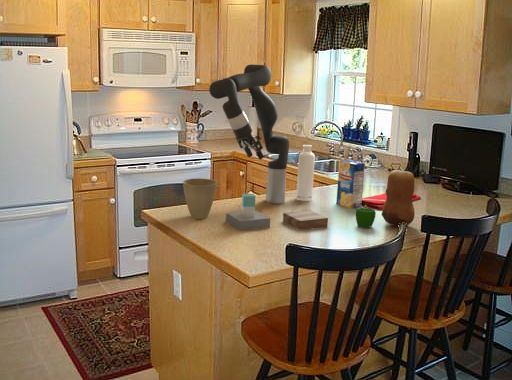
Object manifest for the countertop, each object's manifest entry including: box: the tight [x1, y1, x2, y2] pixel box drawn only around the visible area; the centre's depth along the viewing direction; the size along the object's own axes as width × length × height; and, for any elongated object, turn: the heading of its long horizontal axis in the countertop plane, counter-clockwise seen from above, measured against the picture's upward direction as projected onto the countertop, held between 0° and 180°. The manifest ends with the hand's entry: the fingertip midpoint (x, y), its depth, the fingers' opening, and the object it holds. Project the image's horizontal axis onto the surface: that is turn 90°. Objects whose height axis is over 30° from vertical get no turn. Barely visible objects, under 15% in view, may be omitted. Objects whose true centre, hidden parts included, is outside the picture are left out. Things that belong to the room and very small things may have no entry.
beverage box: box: [336, 159, 366, 209], centre depth 288 cm, size 7×11×22 cm, turn 35°
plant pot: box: [182, 177, 218, 220], centre depth 255 cm, size 15×15×16 cm
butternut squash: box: [381, 169, 415, 228], centre depth 254 cm, size 14×13×25 cm
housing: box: [241, 193, 256, 217], centre depth 247 cm, size 5×5×9 cm
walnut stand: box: [282, 209, 329, 231], centre depth 253 cm, size 14×14×4 cm
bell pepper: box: [355, 205, 377, 229], centre depth 252 cm, size 8×8×10 cm
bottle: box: [295, 144, 316, 202], centre depth 296 cm, size 8×8×28 cm
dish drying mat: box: [361, 192, 421, 211], centre depth 302 cm, size 16×41×4 cm, turn 136°
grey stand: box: [225, 209, 271, 231], centre depth 248 cm, size 14×14×4 cm
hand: (256, 157), depth 243 cm, fingers open, 8 cm apart
